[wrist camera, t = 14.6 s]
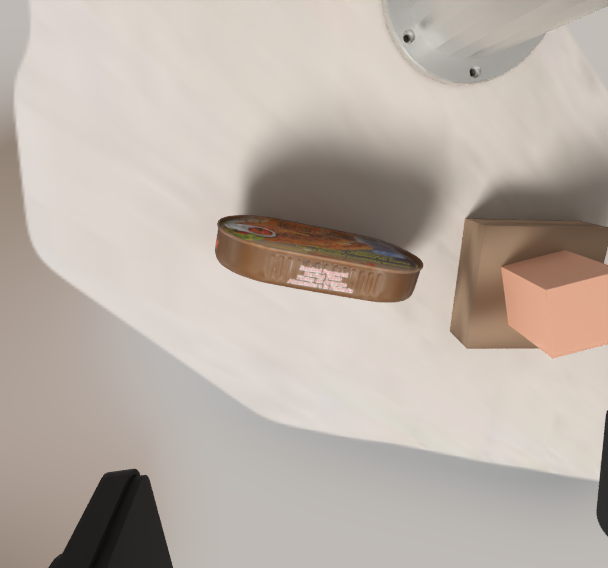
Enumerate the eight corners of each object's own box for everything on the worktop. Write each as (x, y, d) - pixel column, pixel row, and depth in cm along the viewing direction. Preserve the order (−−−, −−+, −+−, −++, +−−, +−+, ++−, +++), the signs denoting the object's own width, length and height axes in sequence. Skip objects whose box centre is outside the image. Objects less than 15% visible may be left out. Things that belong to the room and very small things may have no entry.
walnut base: (463, 218, 37) (485, 225, 33) (577, 220, 38) (611, 228, 34) (448, 329, 40) (467, 348, 36) (554, 329, 41) (584, 348, 37)
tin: (405, 244, 37) (443, 270, 29) (395, 279, 38) (429, 315, 30) (225, 207, 35) (210, 225, 27) (219, 246, 36) (203, 274, 28)
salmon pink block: (500, 266, 34) (545, 290, 28) (564, 249, 34) (622, 270, 28) (508, 324, 36) (552, 358, 30) (569, 308, 36) (625, 339, 30)
